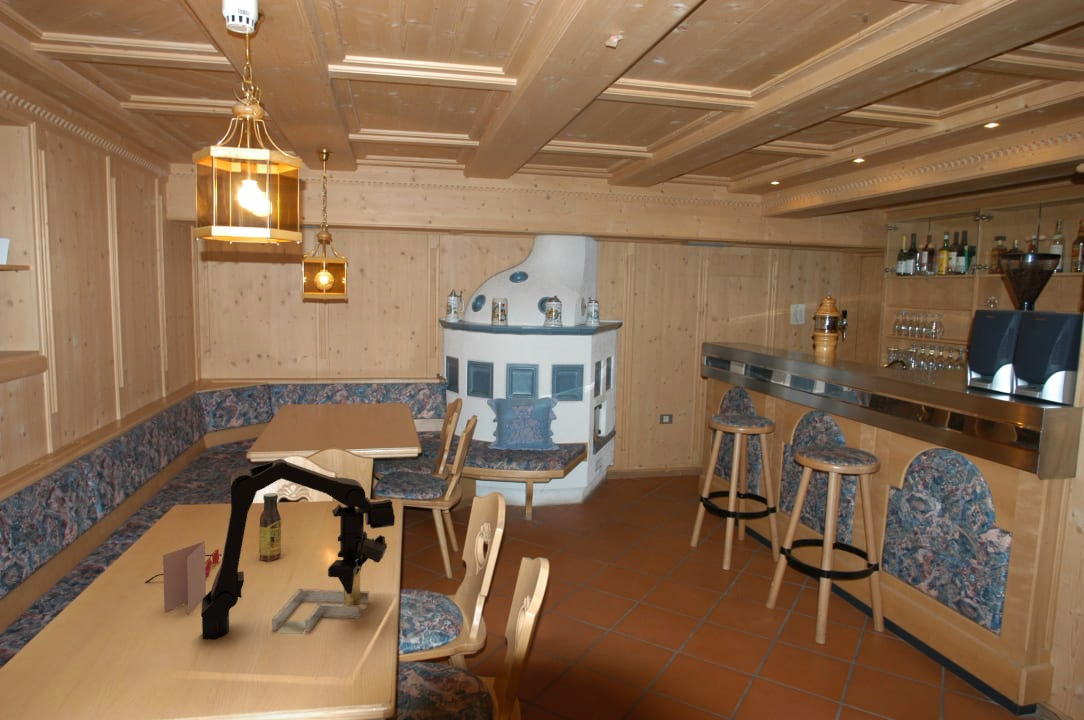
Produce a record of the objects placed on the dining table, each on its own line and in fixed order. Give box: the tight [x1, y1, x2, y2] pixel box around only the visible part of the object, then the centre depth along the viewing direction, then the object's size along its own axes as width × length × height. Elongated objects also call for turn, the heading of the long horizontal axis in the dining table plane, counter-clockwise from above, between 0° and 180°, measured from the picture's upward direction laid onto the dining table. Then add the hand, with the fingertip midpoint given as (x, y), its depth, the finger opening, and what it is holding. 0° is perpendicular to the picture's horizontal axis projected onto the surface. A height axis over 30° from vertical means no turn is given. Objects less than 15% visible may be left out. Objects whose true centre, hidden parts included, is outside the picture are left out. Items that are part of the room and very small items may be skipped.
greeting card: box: [162, 541, 207, 616], centre depth 172 cm, size 11×7×15 cm, turn 152°
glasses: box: [144, 548, 223, 584], centre depth 194 cm, size 14×16×5 cm
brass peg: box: [343, 565, 361, 605], centre depth 170 cm, size 4×4×10 cm
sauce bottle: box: [258, 492, 282, 562], centre depth 205 cm, size 7×6×20 cm
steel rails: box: [271, 588, 370, 633], centre depth 167 cm, size 16×18×3 cm
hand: (352, 589), depth 170 cm, fingers closed on brass peg, 4 cm apart
